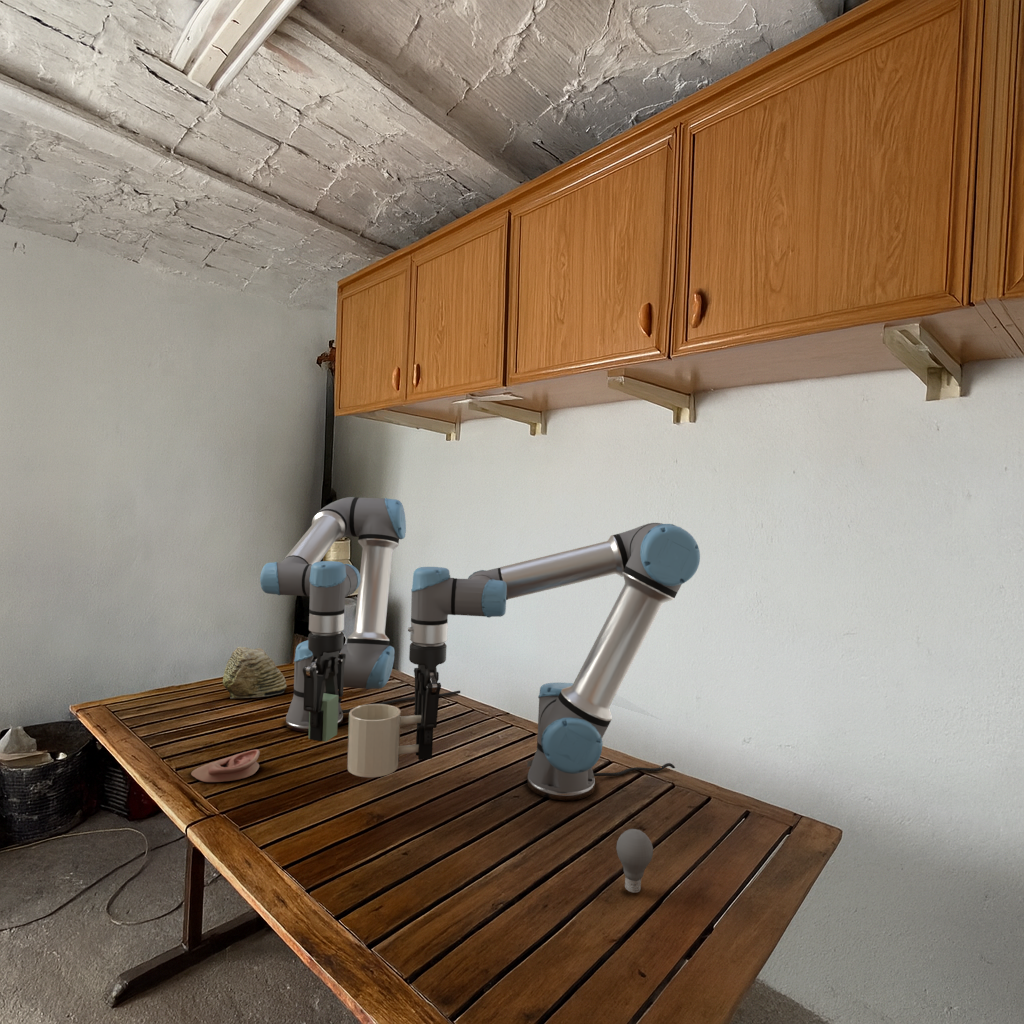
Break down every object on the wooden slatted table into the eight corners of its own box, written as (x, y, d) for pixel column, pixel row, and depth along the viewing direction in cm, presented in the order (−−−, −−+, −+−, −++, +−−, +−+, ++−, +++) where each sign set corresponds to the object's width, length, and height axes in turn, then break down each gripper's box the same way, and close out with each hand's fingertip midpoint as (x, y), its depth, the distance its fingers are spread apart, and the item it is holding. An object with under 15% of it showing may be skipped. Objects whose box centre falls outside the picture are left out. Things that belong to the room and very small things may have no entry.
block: (320, 731, 144) (321, 692, 144) (337, 734, 143) (338, 695, 142) (308, 738, 140) (309, 698, 139) (326, 742, 138) (327, 701, 138)
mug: (350, 780, 120) (352, 722, 120) (344, 759, 130) (346, 705, 129) (434, 770, 126) (436, 715, 126) (422, 751, 135) (424, 700, 135)
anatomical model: (182, 760, 139) (216, 741, 150) (181, 778, 139) (216, 758, 150) (236, 768, 136) (267, 748, 147) (235, 786, 136) (266, 765, 147)
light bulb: (610, 879, 108) (613, 822, 108) (644, 879, 109) (647, 822, 109) (619, 902, 102) (622, 840, 102) (655, 901, 103) (658, 840, 103)
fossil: (218, 695, 195) (220, 647, 195) (278, 685, 208) (279, 640, 207) (228, 703, 189) (230, 653, 188) (289, 692, 201) (290, 645, 201)
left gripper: (333, 622, 150) (330, 719, 151) (286, 638, 133) (283, 747, 134) (361, 625, 148) (358, 724, 149) (317, 642, 131) (314, 753, 132)
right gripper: (402, 635, 135) (398, 744, 136) (418, 652, 122) (413, 773, 122) (437, 634, 138) (432, 741, 139) (455, 650, 125) (451, 768, 125)
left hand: (323, 735), depth 141 cm, fingers closed on block, 4 cm apart
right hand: (423, 756), depth 130 cm, fingers closed on mug, 2 cm apart
